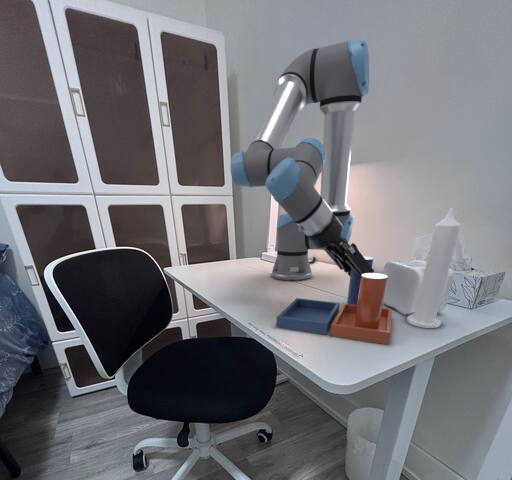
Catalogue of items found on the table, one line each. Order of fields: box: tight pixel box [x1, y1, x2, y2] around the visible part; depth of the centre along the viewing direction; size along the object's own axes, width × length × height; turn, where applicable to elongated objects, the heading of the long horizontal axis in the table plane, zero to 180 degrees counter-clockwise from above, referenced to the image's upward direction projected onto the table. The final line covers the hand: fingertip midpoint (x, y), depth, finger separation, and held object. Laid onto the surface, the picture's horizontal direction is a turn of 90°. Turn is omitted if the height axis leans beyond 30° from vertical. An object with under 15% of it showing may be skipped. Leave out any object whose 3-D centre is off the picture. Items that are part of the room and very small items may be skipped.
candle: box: [406, 206, 461, 329], centre depth 64 cm, size 7×7×25 cm
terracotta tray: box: [330, 303, 393, 346], centre depth 67 cm, size 16×12×3 cm
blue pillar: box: [346, 255, 374, 305], centre depth 76 cm, size 5×5×12 cm
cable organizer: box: [382, 259, 455, 316], centre depth 77 cm, size 15×11×12 cm
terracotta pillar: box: [354, 272, 388, 330], centre depth 62 cm, size 5×5×12 cm
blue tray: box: [276, 297, 340, 336], centre depth 71 cm, size 16×12×3 cm
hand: (370, 288), depth 78 cm, fingers closed on blue pillar, 5 cm apart
